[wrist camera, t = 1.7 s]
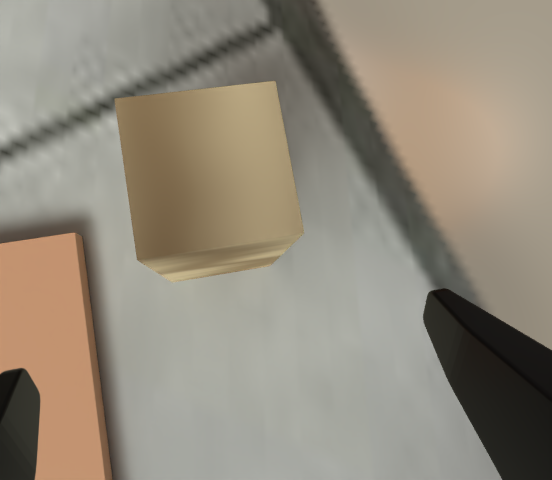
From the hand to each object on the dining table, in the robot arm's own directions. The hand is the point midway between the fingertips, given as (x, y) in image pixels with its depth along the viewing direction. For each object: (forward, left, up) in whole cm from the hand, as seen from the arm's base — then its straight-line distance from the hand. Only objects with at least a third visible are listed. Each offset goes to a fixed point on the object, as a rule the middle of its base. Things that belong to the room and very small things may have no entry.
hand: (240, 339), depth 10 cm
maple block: (0, -5, -13) cm, 14 cm away
